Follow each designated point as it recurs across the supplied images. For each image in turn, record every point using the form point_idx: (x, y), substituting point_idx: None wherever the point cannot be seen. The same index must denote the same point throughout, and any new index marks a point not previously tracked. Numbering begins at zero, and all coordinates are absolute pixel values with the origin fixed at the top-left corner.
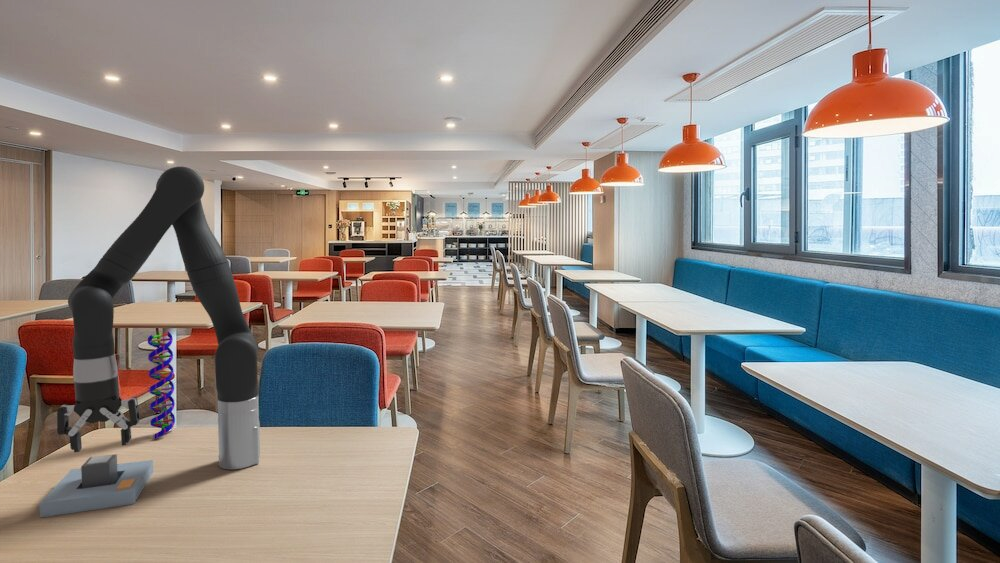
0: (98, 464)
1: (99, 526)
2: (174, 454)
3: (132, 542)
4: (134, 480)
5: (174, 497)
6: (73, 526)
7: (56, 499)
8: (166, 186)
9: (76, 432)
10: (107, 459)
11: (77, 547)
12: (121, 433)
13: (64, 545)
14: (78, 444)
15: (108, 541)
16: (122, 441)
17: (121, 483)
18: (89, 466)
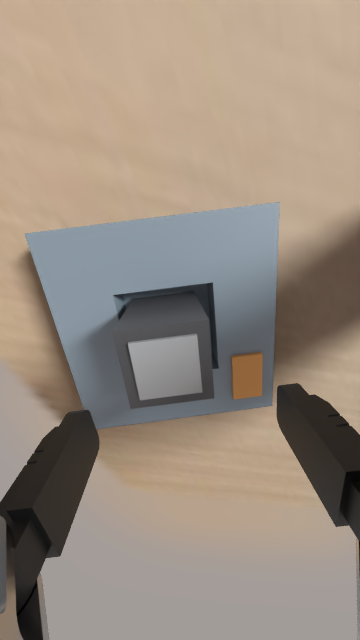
0: (181, 400)
1: (224, 445)
2: (304, 29)
3: (286, 486)
4: (261, 359)
5: (330, 372)
6: (181, 439)
7: (117, 418)
8: None
9: (41, 595)
10: (198, 375)
11: (215, 487)
12: (321, 494)
13: (195, 481)
14: (84, 472)
15: (253, 480)
16: (292, 442)
17: (236, 376)
18: (155, 403)
